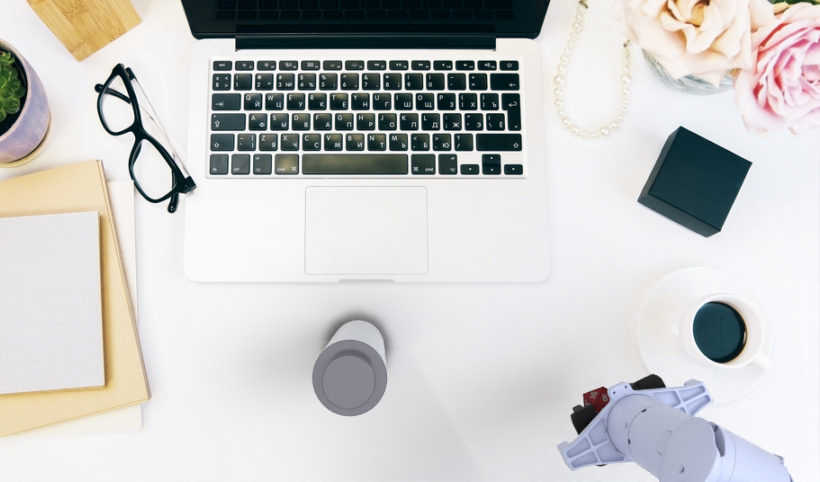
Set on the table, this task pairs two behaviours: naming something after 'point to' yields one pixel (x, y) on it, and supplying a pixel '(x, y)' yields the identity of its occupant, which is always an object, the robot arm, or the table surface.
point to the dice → (596, 398)
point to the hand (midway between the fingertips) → (600, 404)
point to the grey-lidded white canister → (351, 370)
